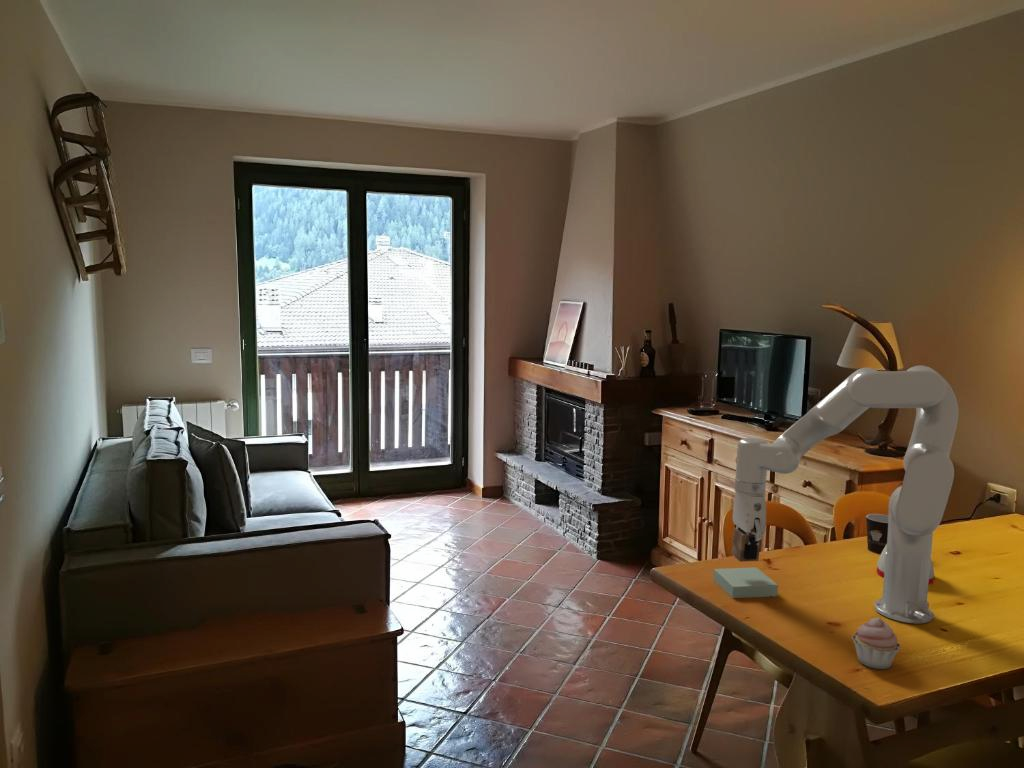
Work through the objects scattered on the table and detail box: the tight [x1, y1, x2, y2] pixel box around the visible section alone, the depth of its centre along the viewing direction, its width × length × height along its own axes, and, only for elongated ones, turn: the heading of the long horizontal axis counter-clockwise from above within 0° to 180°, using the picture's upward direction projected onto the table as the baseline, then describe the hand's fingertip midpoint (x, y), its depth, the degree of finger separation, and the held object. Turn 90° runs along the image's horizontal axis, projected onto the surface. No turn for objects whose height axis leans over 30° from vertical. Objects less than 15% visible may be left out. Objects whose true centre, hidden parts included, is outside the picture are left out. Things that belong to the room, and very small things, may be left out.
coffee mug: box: [865, 513, 889, 555], centre depth 224 cm, size 12×9×10 cm
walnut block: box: [731, 528, 761, 562], centre depth 195 cm, size 5×5×7 cm
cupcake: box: [850, 617, 902, 670], centre depth 157 cm, size 9×9×10 cm
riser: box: [712, 567, 779, 599], centre depth 196 cm, size 12×12×3 cm
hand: (745, 554), depth 195 cm, fingers closed on walnut block, 5 cm apart
